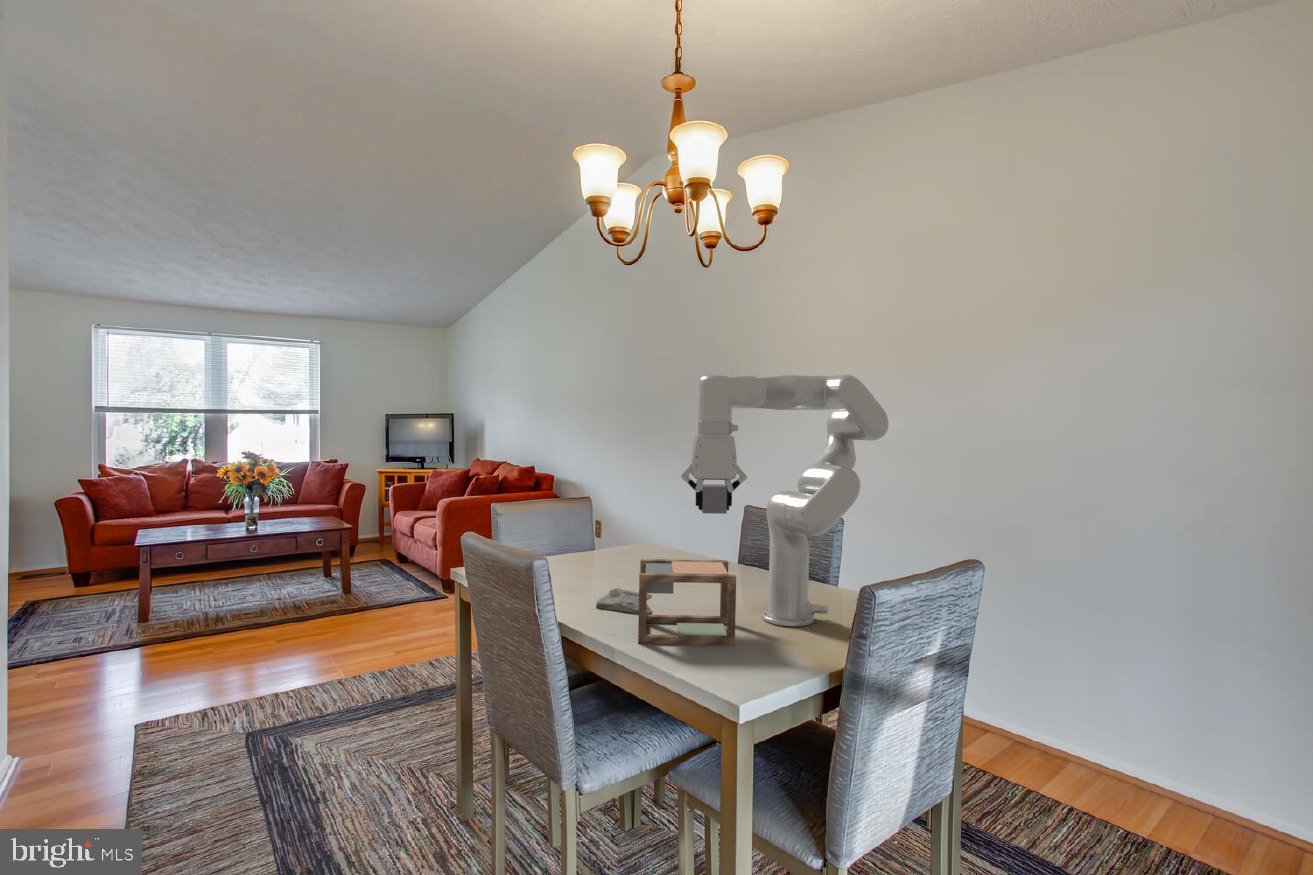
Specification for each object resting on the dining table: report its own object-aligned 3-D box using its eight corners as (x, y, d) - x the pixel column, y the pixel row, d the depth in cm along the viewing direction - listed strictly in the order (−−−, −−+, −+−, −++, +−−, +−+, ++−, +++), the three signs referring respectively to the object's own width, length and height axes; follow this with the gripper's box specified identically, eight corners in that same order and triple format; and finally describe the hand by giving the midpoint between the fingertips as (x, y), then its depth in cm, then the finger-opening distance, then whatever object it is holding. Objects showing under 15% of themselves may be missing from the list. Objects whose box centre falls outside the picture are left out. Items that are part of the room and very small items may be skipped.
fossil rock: (610, 594, 181) (610, 586, 181) (662, 598, 178) (662, 590, 178) (591, 612, 164) (591, 603, 164) (649, 617, 161) (649, 607, 161)
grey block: (723, 510, 151) (724, 484, 150) (726, 513, 145) (727, 486, 145) (700, 509, 151) (701, 484, 150) (702, 513, 145) (702, 486, 145)
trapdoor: (645, 593, 142) (645, 572, 142) (645, 579, 154) (645, 560, 154) (727, 594, 142) (728, 574, 142) (721, 580, 154) (722, 562, 154)
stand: (638, 643, 140) (639, 574, 140) (639, 620, 156) (640, 558, 156) (734, 645, 141) (736, 576, 140) (726, 622, 157) (727, 560, 156)
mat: (723, 625, 154) (723, 623, 154) (728, 641, 143) (728, 639, 143) (677, 624, 154) (677, 622, 154) (679, 640, 143) (679, 638, 143)
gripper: (749, 430, 151) (748, 507, 152) (676, 429, 151) (675, 506, 152) (754, 430, 144) (753, 512, 144) (677, 429, 143) (676, 511, 144)
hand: (713, 508), depth 148 cm, fingers closed on grey block, 5 cm apart
